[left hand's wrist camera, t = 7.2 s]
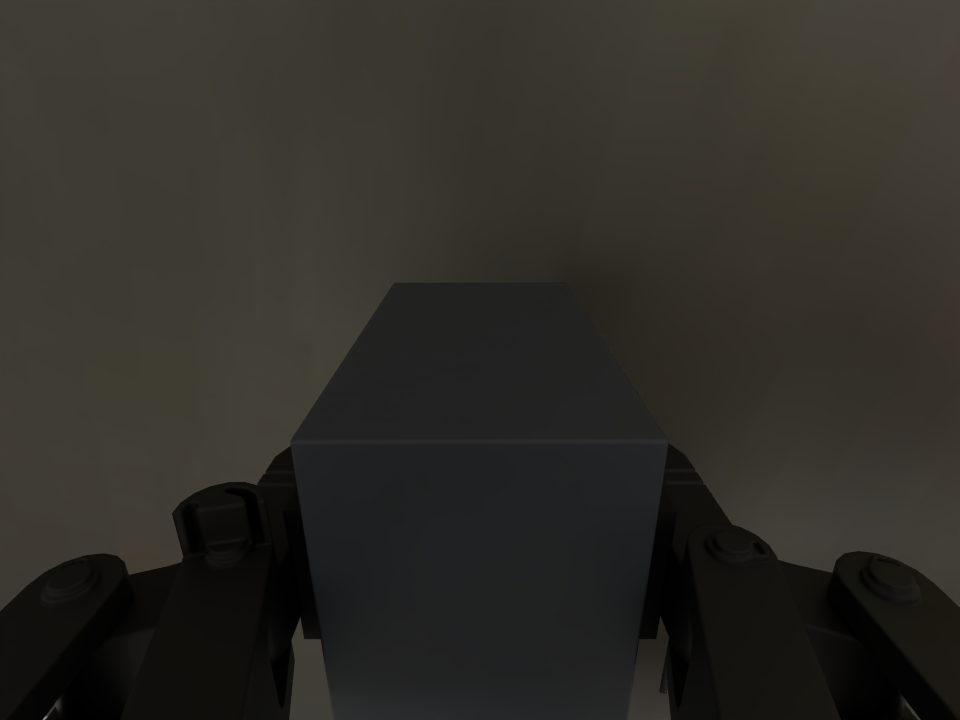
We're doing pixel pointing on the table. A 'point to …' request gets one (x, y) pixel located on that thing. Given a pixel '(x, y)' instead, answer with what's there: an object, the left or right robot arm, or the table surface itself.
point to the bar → (479, 510)
